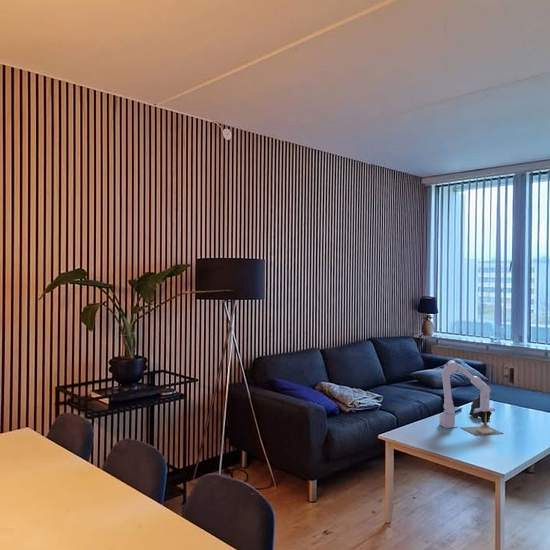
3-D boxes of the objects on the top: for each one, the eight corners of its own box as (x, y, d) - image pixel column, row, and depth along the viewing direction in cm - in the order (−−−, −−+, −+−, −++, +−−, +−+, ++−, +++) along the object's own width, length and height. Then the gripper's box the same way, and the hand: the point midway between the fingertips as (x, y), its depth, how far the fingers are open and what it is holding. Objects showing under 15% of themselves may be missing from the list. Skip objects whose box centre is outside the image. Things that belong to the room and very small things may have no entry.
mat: (475, 435, 309) (475, 435, 309) (460, 428, 325) (460, 427, 325) (503, 433, 314) (503, 433, 314) (487, 426, 329) (487, 425, 329)
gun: (492, 402, 339) (473, 393, 351) (486, 424, 342) (468, 414, 354) (494, 402, 340) (476, 392, 352) (488, 423, 344) (470, 413, 356)
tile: (476, 430, 319) (483, 433, 312) (476, 428, 319) (483, 431, 312) (485, 429, 321) (492, 432, 314) (485, 427, 321) (492, 430, 314)
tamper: (483, 427, 323) (484, 413, 323) (480, 425, 327) (481, 411, 327) (488, 427, 324) (489, 412, 324) (485, 425, 327) (486, 411, 327)
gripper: (479, 404, 320) (478, 424, 320) (498, 403, 323) (498, 423, 323) (472, 401, 327) (472, 421, 327) (491, 400, 330) (491, 420, 330)
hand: (484, 422), depth 325 cm, fingers closed on tamper, 2 cm apart
